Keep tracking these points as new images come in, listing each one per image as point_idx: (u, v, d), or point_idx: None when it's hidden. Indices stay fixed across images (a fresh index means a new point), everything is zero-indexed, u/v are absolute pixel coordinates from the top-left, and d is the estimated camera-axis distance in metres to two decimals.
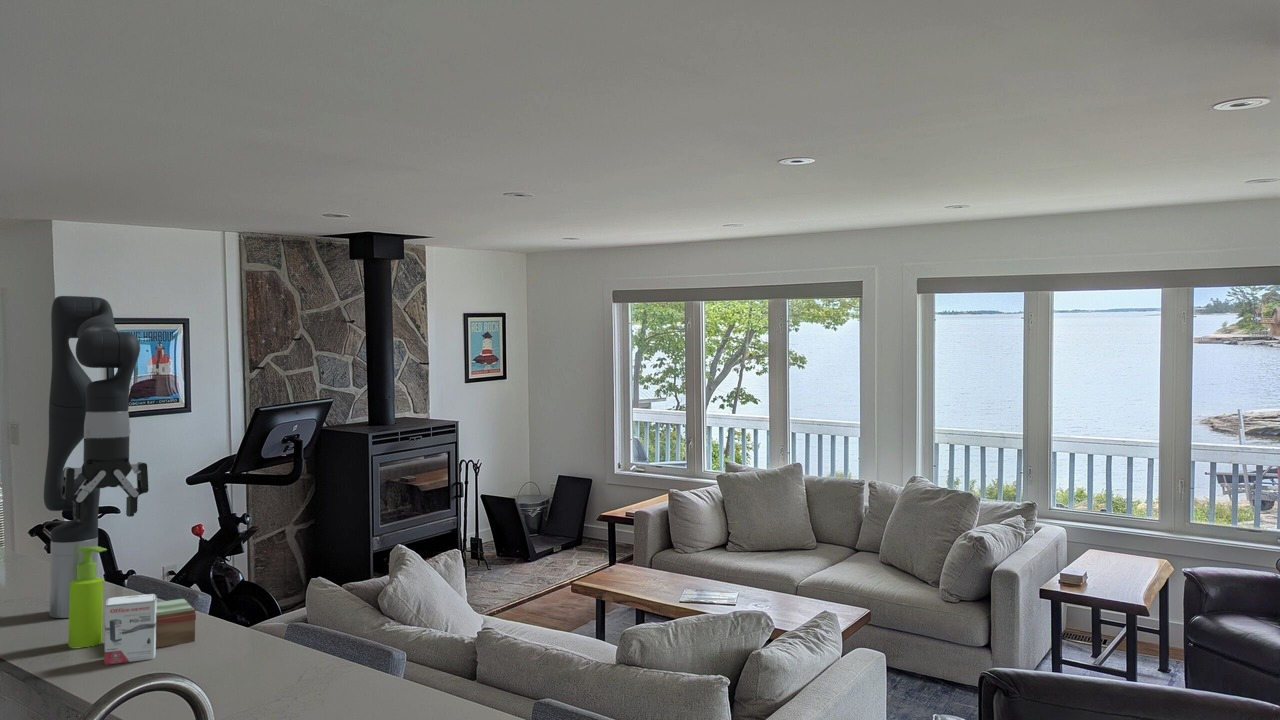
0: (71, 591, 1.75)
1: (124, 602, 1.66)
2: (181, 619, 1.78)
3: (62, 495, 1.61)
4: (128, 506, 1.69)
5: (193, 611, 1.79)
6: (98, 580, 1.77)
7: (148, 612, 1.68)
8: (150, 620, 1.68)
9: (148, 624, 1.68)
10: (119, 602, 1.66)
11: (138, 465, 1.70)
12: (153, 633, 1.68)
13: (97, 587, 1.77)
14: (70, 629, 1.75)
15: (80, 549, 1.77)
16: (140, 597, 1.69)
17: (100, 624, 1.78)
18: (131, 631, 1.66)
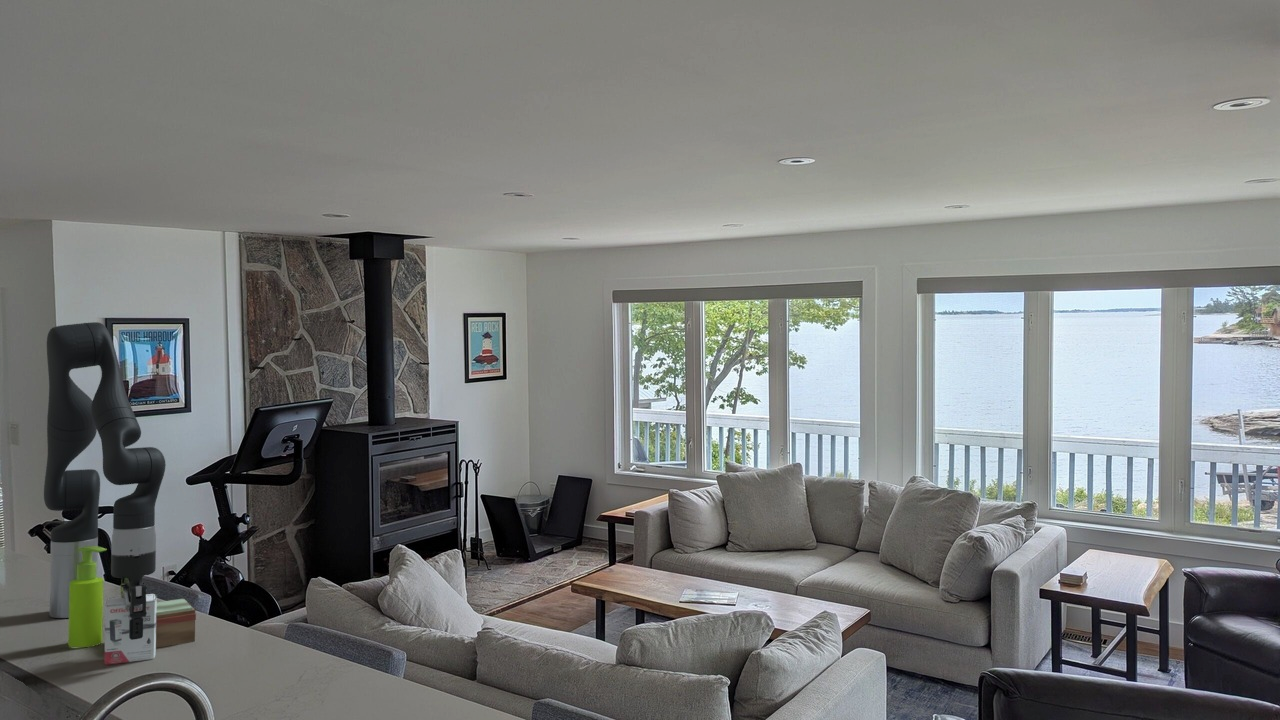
0: (71, 591, 1.75)
1: (124, 602, 1.66)
2: (181, 619, 1.78)
3: (134, 614, 1.62)
4: None
5: (193, 611, 1.79)
6: (98, 580, 1.77)
7: (148, 612, 1.68)
8: (150, 620, 1.68)
9: (148, 624, 1.68)
10: (119, 602, 1.66)
11: None
12: (153, 633, 1.68)
13: (96, 587, 1.77)
14: (70, 629, 1.75)
15: (80, 549, 1.77)
16: None
17: (100, 624, 1.78)
18: None
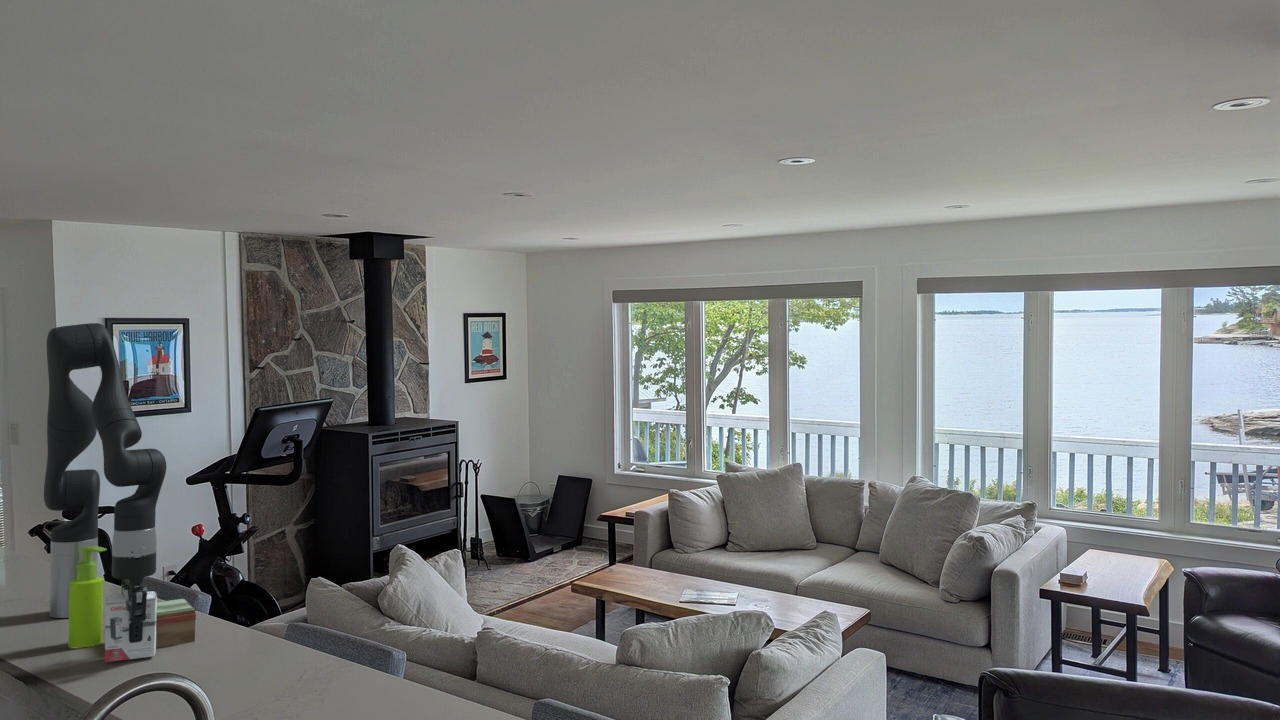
0: (71, 591, 1.75)
1: (124, 600, 1.66)
2: (181, 619, 1.78)
3: (134, 619, 1.64)
4: None
5: (193, 611, 1.79)
6: (98, 580, 1.77)
7: (148, 610, 1.68)
8: (151, 618, 1.68)
9: (149, 622, 1.68)
10: (119, 600, 1.66)
11: None
12: (154, 631, 1.68)
13: (97, 587, 1.77)
14: (70, 629, 1.75)
15: (80, 549, 1.77)
16: None
17: (100, 624, 1.78)
18: None
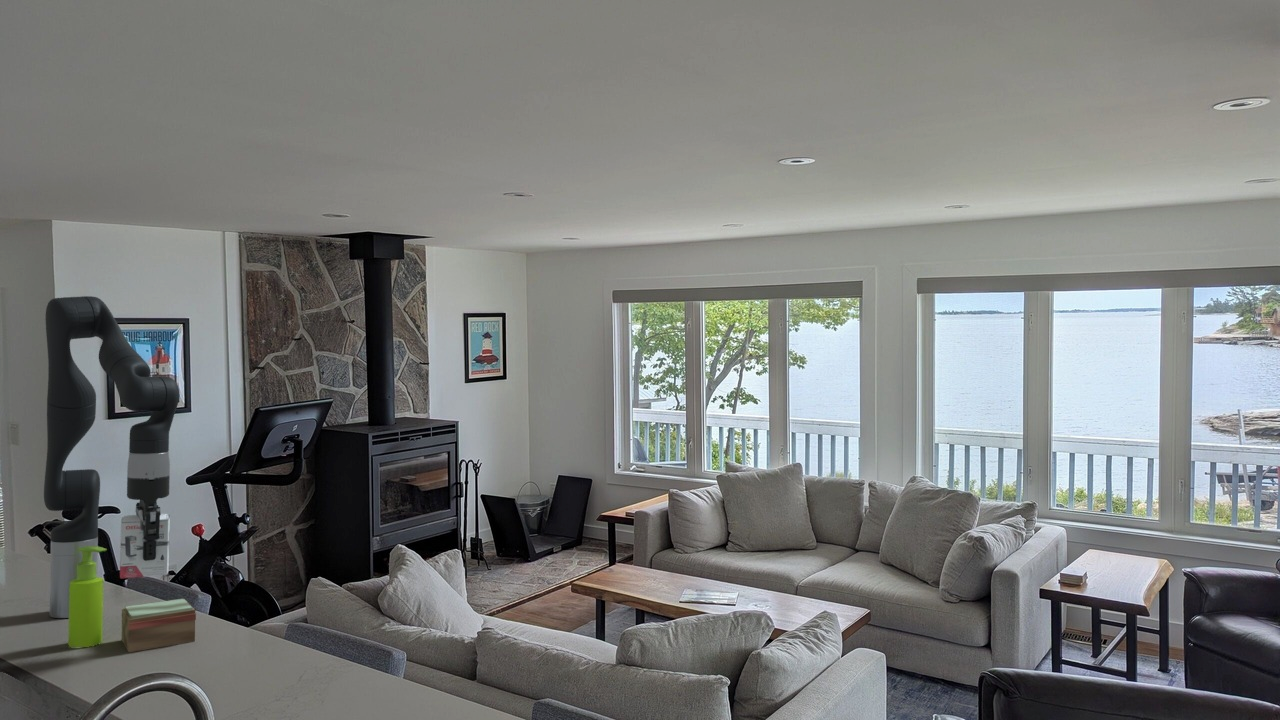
0: (71, 591, 1.75)
1: (139, 520, 1.73)
2: (181, 619, 1.78)
3: (148, 537, 1.71)
4: None
5: (193, 611, 1.79)
6: (98, 580, 1.77)
7: (162, 530, 1.75)
8: (164, 538, 1.75)
9: (162, 542, 1.75)
10: (134, 519, 1.73)
11: None
12: (166, 550, 1.75)
13: (96, 587, 1.77)
14: (70, 629, 1.75)
15: (80, 549, 1.77)
16: None
17: (100, 624, 1.78)
18: None
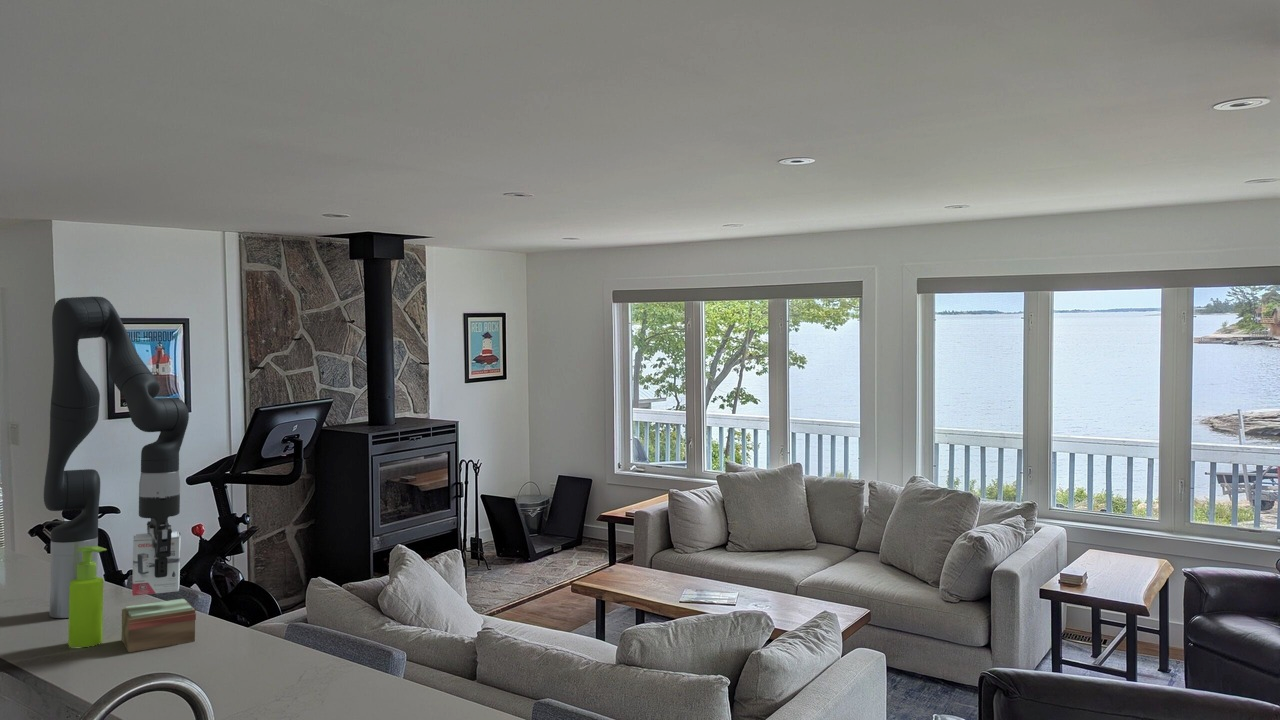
0: (71, 591, 1.75)
1: (151, 538, 1.78)
2: (181, 619, 1.78)
3: (160, 555, 1.75)
4: None
5: (193, 611, 1.79)
6: (98, 580, 1.77)
7: (173, 548, 1.79)
8: (175, 555, 1.79)
9: (173, 559, 1.79)
10: (146, 537, 1.77)
11: None
12: (177, 567, 1.80)
13: (97, 587, 1.77)
14: (70, 629, 1.75)
15: (80, 549, 1.77)
16: None
17: (100, 624, 1.78)
18: None
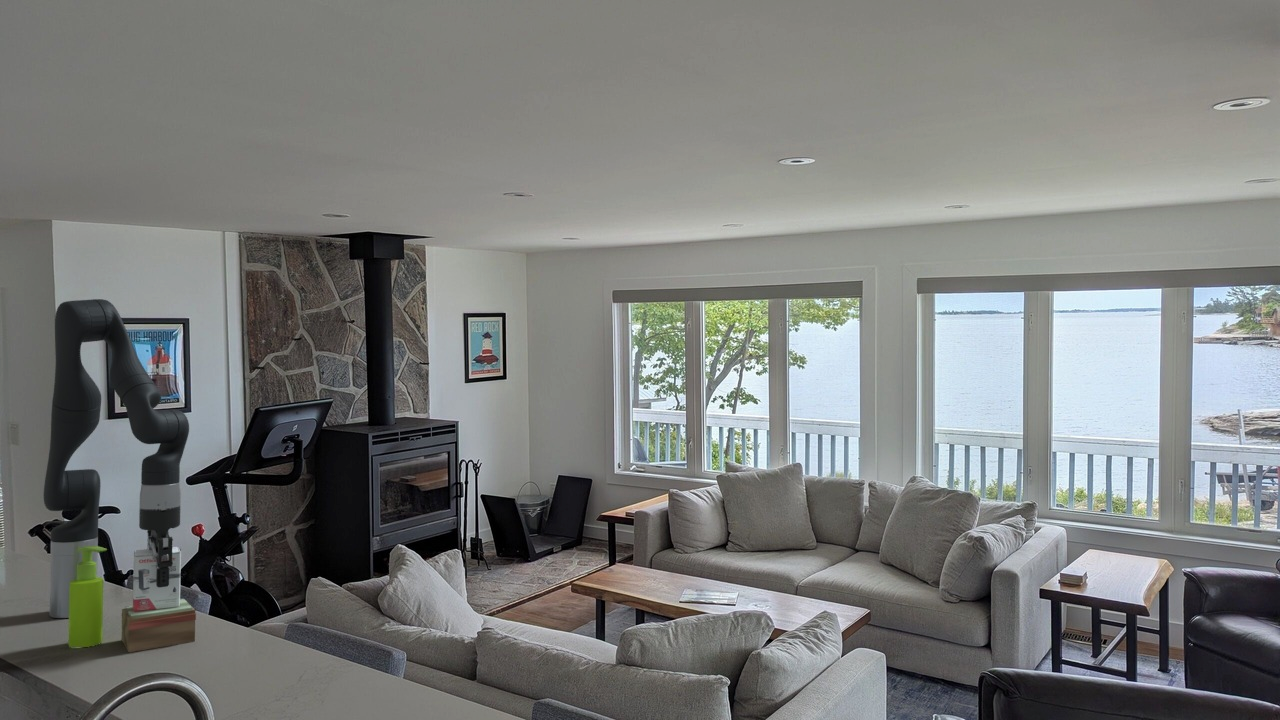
0: (71, 591, 1.75)
1: (151, 553, 1.78)
2: (181, 619, 1.78)
3: (162, 564, 1.74)
4: None
5: (193, 611, 1.79)
6: (98, 580, 1.77)
7: (174, 563, 1.79)
8: (176, 570, 1.80)
9: (174, 574, 1.79)
10: (147, 553, 1.78)
11: None
12: (178, 582, 1.80)
13: (97, 587, 1.77)
14: (70, 629, 1.75)
15: (80, 549, 1.77)
16: None
17: (100, 624, 1.78)
18: None
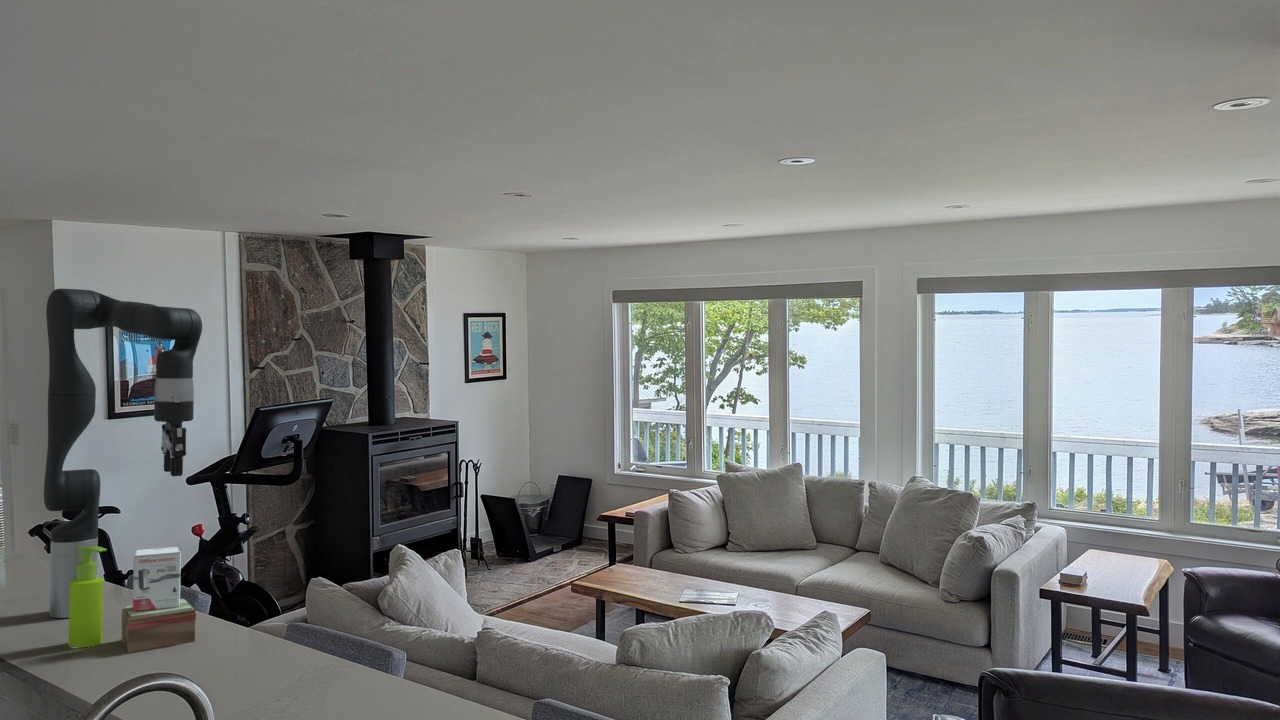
0: (71, 591, 1.75)
1: (151, 553, 1.78)
2: (181, 619, 1.78)
3: (176, 452, 1.81)
4: (170, 463, 1.90)
5: (193, 611, 1.79)
6: (98, 580, 1.77)
7: (174, 563, 1.79)
8: (176, 570, 1.80)
9: (174, 574, 1.79)
10: (147, 553, 1.78)
11: None
12: (178, 582, 1.80)
13: (97, 587, 1.77)
14: (70, 629, 1.75)
15: (80, 549, 1.77)
16: (165, 549, 1.81)
17: (100, 624, 1.78)
18: (158, 580, 1.78)
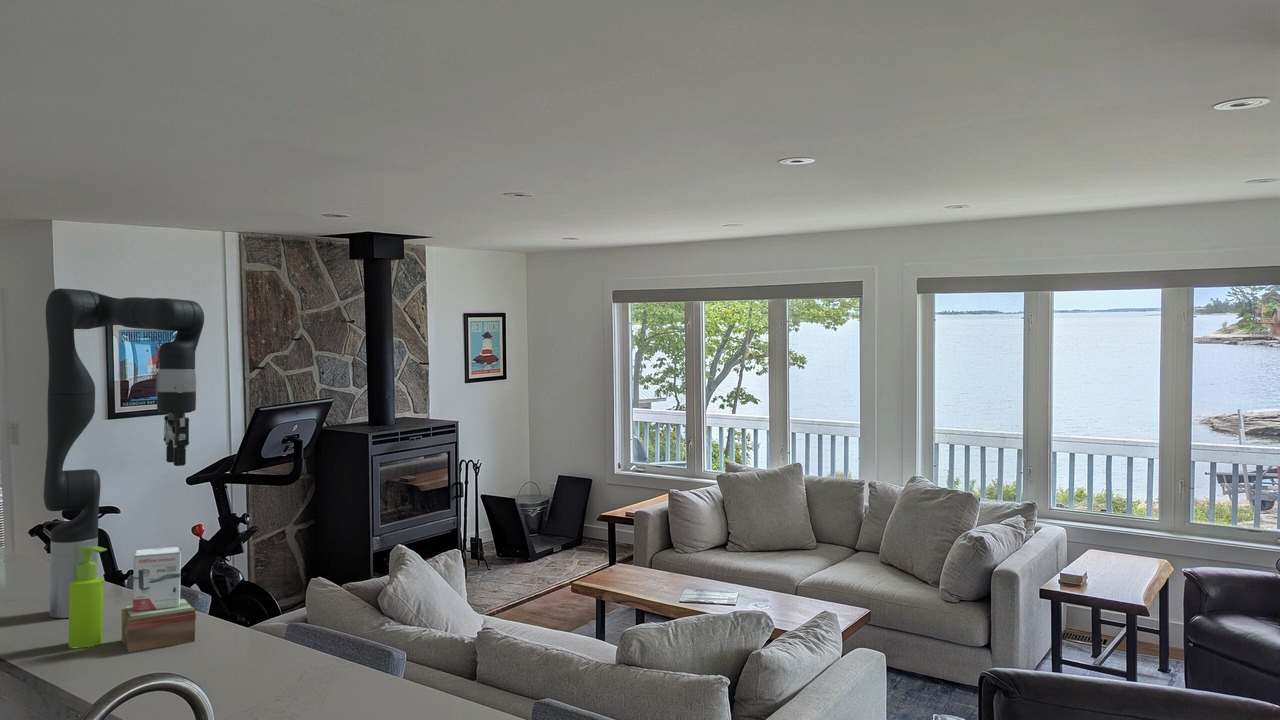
0: (71, 591, 1.75)
1: (151, 553, 1.78)
2: (181, 619, 1.78)
3: (179, 442, 1.83)
4: (172, 453, 1.92)
5: (193, 611, 1.79)
6: (98, 580, 1.77)
7: (174, 563, 1.79)
8: (176, 570, 1.80)
9: (174, 574, 1.79)
10: (147, 553, 1.78)
11: None
12: (178, 582, 1.80)
13: (97, 587, 1.77)
14: (70, 629, 1.75)
15: (80, 549, 1.77)
16: (165, 549, 1.81)
17: (100, 624, 1.78)
18: (158, 580, 1.78)
